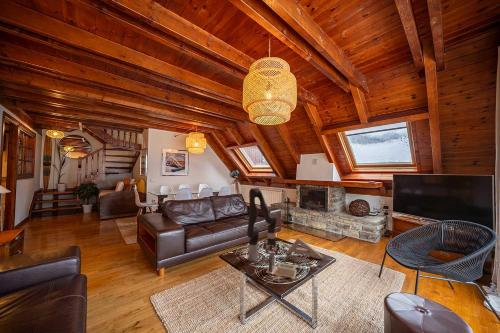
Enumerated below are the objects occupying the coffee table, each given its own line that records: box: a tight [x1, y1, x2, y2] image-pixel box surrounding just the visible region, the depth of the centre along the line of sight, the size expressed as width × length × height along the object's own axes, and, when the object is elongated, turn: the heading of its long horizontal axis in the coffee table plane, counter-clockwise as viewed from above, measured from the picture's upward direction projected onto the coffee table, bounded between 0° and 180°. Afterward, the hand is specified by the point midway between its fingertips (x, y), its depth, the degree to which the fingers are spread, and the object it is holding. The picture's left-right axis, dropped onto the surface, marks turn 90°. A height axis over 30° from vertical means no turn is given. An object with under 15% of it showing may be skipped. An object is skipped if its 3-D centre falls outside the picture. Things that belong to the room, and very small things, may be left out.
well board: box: [265, 262, 298, 280], centre depth 180 cm, size 26×14×6 cm, turn 69°
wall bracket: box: [286, 236, 323, 260], centre depth 210 cm, size 22×4×30 cm
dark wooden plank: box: [268, 251, 275, 272], centre depth 183 cm, size 9×3×14 cm, turn 159°
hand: (271, 254), depth 182 cm, fingers open, 8 cm apart
